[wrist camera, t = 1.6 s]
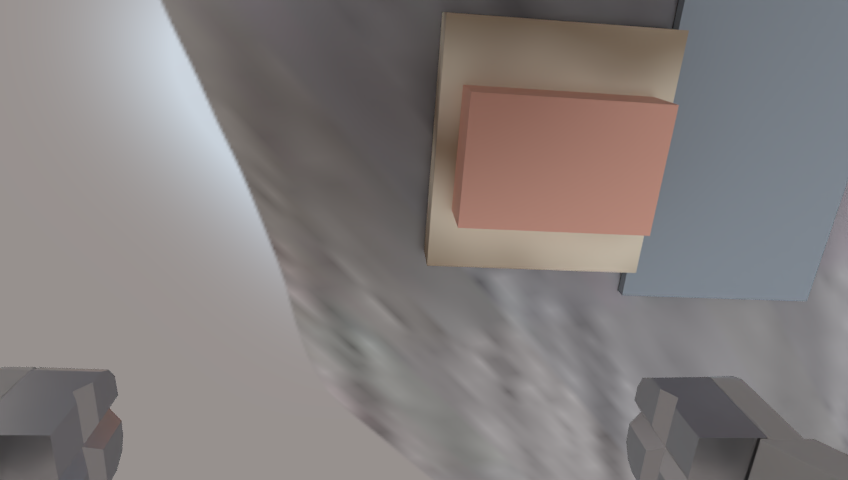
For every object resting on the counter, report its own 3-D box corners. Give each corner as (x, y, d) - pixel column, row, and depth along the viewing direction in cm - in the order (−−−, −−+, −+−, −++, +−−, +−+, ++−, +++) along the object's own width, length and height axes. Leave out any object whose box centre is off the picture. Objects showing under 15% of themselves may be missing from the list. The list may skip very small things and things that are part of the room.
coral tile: (451, 210, 29) (457, 227, 27) (463, 84, 27) (471, 91, 24) (628, 217, 30) (649, 235, 27) (653, 96, 28) (679, 104, 25)
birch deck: (442, 12, 27) (446, 12, 26) (668, 29, 28) (688, 30, 27) (424, 250, 32) (426, 265, 30) (621, 258, 33) (636, 273, 31)
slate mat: (682, -16, 28) (688, -17, 27) (898, 2, 29) (908, 1, 28) (618, 290, 33) (622, 295, 33) (799, 296, 34) (806, 301, 34)
